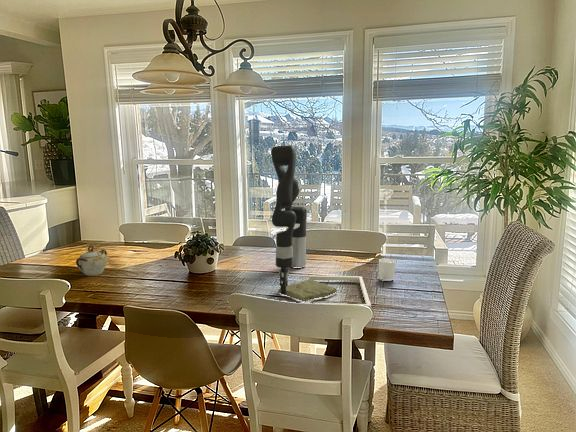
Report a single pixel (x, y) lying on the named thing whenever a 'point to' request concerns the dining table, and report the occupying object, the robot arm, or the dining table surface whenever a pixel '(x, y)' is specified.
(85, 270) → the sugar bowl
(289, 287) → the decorative tile
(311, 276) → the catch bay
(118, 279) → the dining table surface
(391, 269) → the white cup
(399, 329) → the dining table surface
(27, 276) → the dining table surface
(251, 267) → the dining table surface
